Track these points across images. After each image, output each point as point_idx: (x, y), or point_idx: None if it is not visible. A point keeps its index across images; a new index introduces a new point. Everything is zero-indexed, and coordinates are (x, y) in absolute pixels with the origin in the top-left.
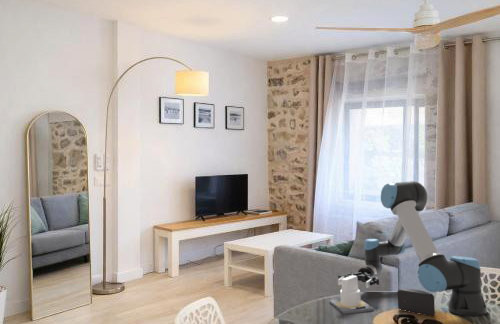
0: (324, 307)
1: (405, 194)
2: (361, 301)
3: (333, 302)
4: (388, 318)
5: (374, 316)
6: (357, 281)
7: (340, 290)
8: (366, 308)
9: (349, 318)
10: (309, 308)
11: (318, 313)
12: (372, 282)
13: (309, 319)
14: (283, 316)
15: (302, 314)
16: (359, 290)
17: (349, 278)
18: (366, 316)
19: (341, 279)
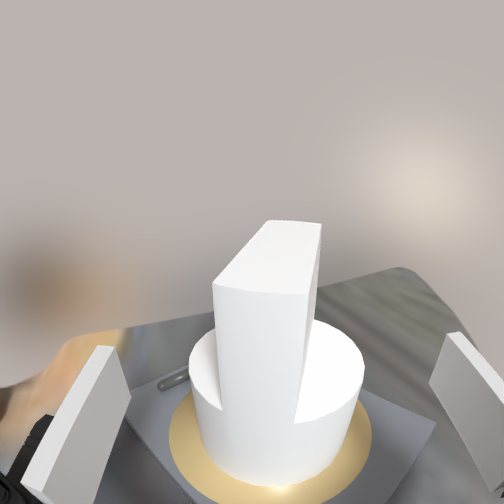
0: (391, 370)
1: None
2: (214, 496)
3: (387, 404)
4: (68, 343)
5: (117, 350)
6: (217, 343)
7: (350, 340)
8: (152, 385)
9: (214, 317)
10: (425, 337)
11: (353, 318)
12: (39, 426)
13: (335, 283)
14: (411, 276)
15: (388, 297)
16: (196, 378)
17: (266, 236)
18: (150, 344)
19: (317, 225)
